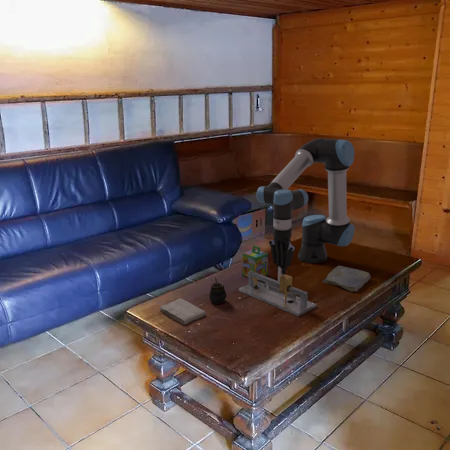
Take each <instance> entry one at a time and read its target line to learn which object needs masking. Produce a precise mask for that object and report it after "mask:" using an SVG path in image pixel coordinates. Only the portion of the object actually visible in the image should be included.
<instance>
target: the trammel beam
mask: <svg viewBox="0 0 450 450" xmlns="http://www.w3.org/2000/svg"><path fill="white" fill-rule="evenodd" d="M247 278H248V279H247V284H245V285H244V286H241V287H239V288H238V292H241V293H244V294H245V295H248V296H250V297H252V298H255V299H257V300H260V301H262V302H264V303H266V304H268V305H271V306H274V307H275V308H278V309H280V310H283V311H285V312H287V313H289V314H292V315H294V316H296V317H300V316H302V315H304V314H305V313H307V312H309V311H312V310H314V309H315V308H316V307H317V303H314V302H312V301H309V300H308V298H309V297H308V295H309V294H308V293H309V292H308V291H305V290H302V289H300V288H297V287H294V286H293V285H292V286H287V291H289V292H290V293H294V294H296V299H295V298H293V297H291V296H288V295H287V299H286V300H285V299H284V294H283V293H281V292H279V291H276V290H274V289H271V288H269V286H268V284H270V285H272V286H274V287H277V288H280V282H279V281H278V280H276V279H274V278H271V277H268V276H267V275H266V276H263V275H261V274H258V273H255V272H253V271H250V272H248V277H247ZM265 283H268V284H266V286H265V287H264V285H265ZM298 299H300V300H298Z"/></svg>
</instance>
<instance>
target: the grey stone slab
mask: <svg viewBox="0 0 450 450" xmlns="http://www.w3.org/2000/svg"><path fill="white" fill-rule="evenodd" d="M370 279H371V273H370V272H368V271H366V270H365V271H364V270H361V269H356V268H351V267H347V266H343V265H337V266H336V267H334V269H332V270H331V271H330V272H329V273H328V274H327V276H326V278H324V279H323V280H322V283H323V284H324V283H325V284H328V285H333V286H338V287H340V288H341V289H345V291H348V292H357V291H359V289H362V287H363V286H364V285H365V284H366V283H368V282H369V281H370Z"/></svg>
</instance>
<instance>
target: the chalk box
mask: <svg viewBox="0 0 450 450" xmlns="http://www.w3.org/2000/svg"><path fill="white" fill-rule="evenodd" d="M241 263H242V264H241V265H242V268H241V269H242V270H241V274H242V276H243V277H246V278H248V272H250V271H253V272H255V273H258V274H261V275H263V276H266V277H267V276H268V273H269V272H268V270H269V267H268V266H269V253H267V252H265V251H261V247H260V246H256V245H252V248H251V250H249V251H246V252H243V253H242V262H241Z"/></svg>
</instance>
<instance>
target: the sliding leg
mask: <svg viewBox="0 0 450 450" xmlns="http://www.w3.org/2000/svg"><path fill="white" fill-rule="evenodd" d="M287 286H292V287H293V276H291V275H288V274H285V275H284V276H281V277H280V288H279V287H278V288H279V292H281V293H284V299H285V300H286V299H287V294H288V293H291V292H289V291H287Z"/></svg>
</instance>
